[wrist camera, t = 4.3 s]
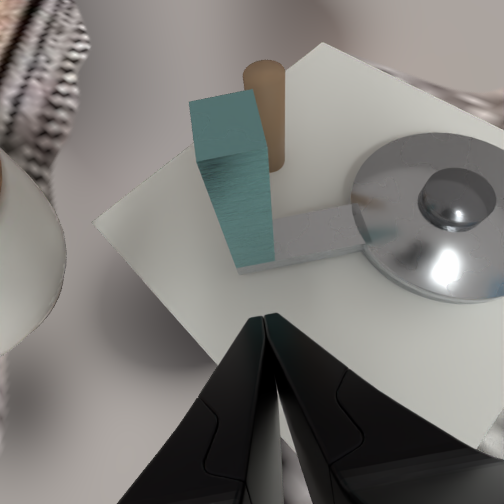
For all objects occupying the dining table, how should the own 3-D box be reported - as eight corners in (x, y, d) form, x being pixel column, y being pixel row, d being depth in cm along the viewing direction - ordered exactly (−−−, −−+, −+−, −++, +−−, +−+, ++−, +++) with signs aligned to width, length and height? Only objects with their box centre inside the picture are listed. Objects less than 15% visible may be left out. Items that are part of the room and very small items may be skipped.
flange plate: (487, 130, 19) (637, -65, 11) (589, 282, 15) (958, 147, 7) (223, 183, 19) (180, 29, 11) (250, 347, 15) (211, 292, 7)
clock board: (387, 553, 13) (497, 721, 6) (101, 231, 20) (16, 155, 14) (620, 209, 18) (815, 103, 11) (320, 56, 26) (333, -59, 19)
